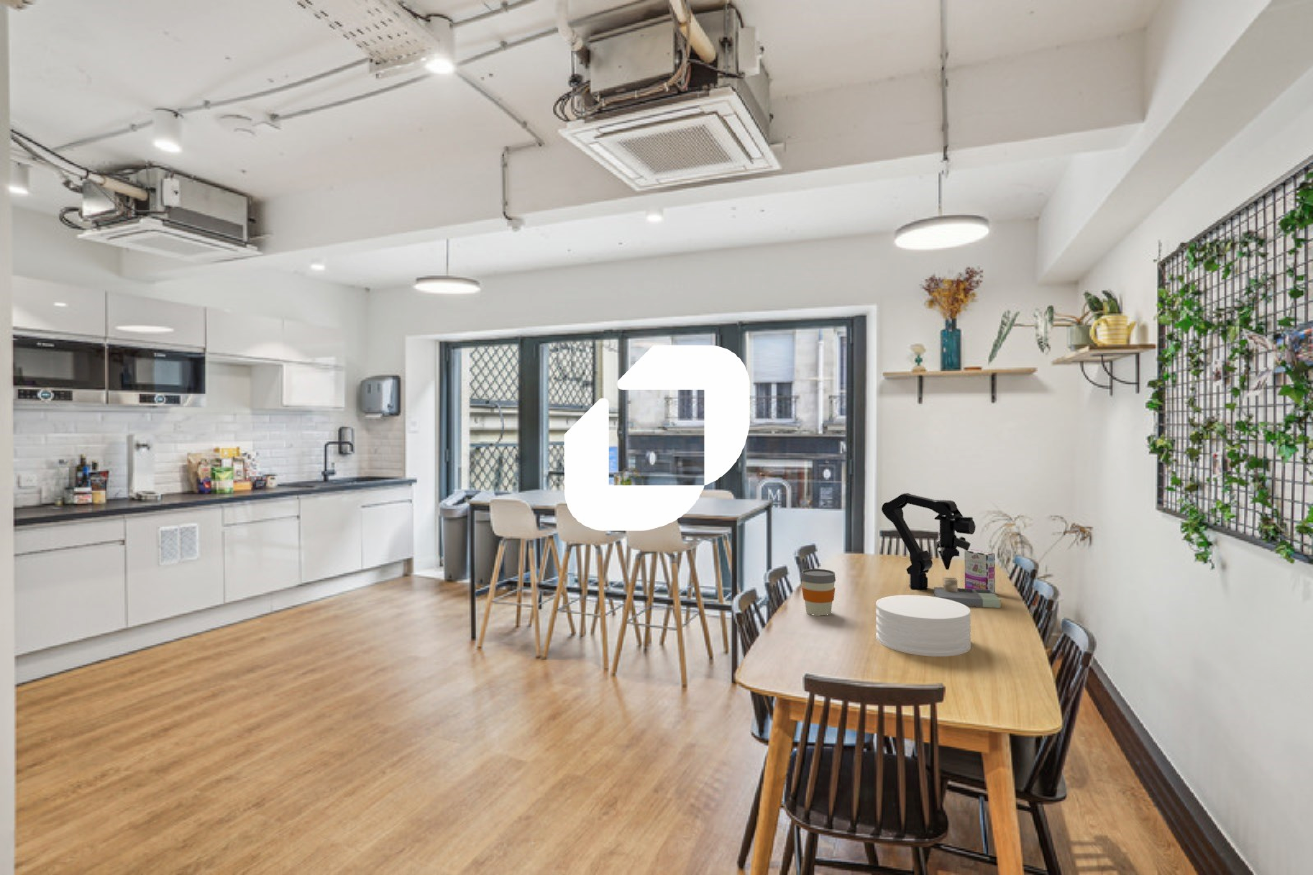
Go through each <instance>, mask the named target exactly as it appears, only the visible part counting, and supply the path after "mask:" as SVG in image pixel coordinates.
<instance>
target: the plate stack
mask: <svg viewBox="0 0 1313 875" xmlns="http://www.w3.org/2000/svg"><path fill="white" fill-rule="evenodd" d="M875 608H876V609H875V615H876V618H875V622H876V625H875V629H876V633H875V638H876V640H877V642H878V643H880V644H881V645H882V646H884V647H886V648H888V649H891V650H893V651H894V650H895V651H898V652H901V653H905V654H911V655H914V656H915V655H916V656H926V657H953V656H959V655H962V654H965V653H968V652H969V651H970V650H971V647H972V643H971V639H972V636H971V629H972V628H971V627H972V626H971V615H972V614H971V609H970V607H969V606H965V605H963V604H961V603H959V602H956V601H952V600H948V599H943V598H938V597H935V596H929V595H918V594H898V595H891V596H890V595H889V596H885V597H882V598H879V599H877V600H876V603H875Z"/></svg>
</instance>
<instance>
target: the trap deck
mask: <svg viewBox="0 0 1313 875" xmlns="http://www.w3.org/2000/svg"><path fill="white" fill-rule="evenodd" d="M933 594H934V597H938V598H943V599H948V600H952V601H956V602H959V603H961V604H963V605H965V606H967V607H974V606H976V607H977V608H996V609H1001V599H1000V598H999V597H998V595H996V593H993V592H992V591H991V590H986V589H965V587H964V588H961V587H959V588H958V587H957V592H951V591H945V590H944V589H943V587H939V586H935V587H933ZM976 607H975V608H976Z"/></svg>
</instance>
